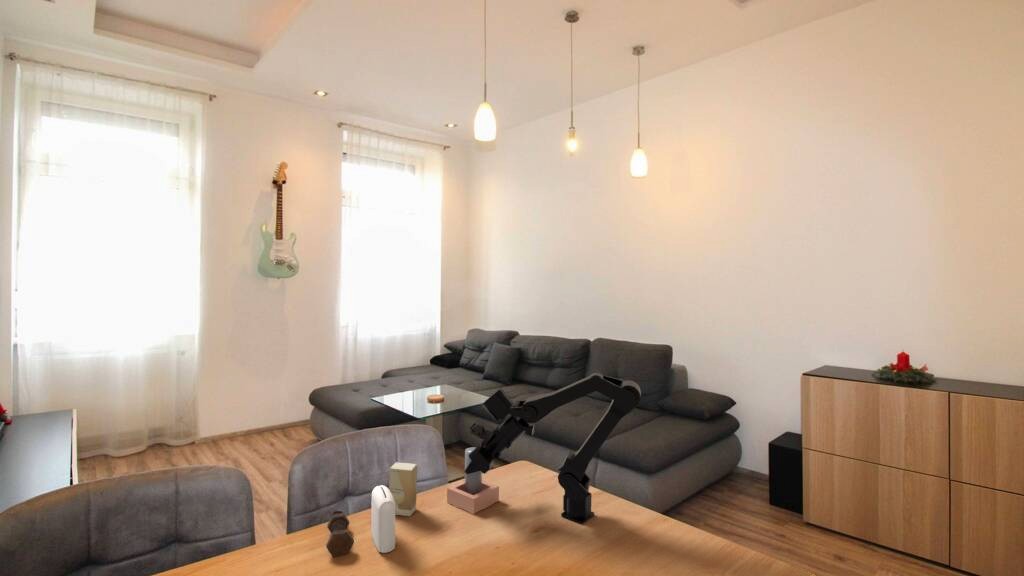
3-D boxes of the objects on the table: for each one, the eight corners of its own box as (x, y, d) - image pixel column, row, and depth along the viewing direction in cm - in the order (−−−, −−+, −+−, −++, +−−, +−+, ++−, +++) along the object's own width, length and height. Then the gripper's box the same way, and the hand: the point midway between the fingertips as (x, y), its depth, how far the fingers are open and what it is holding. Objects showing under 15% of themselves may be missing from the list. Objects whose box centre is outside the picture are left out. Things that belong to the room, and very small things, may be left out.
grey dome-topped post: (484, 495, 133) (484, 451, 133) (468, 498, 131) (468, 454, 130) (477, 488, 137) (477, 446, 137) (462, 491, 135) (462, 448, 135)
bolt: (340, 530, 122) (344, 561, 108) (322, 523, 120) (322, 554, 106) (352, 508, 123) (357, 536, 109) (334, 501, 121) (336, 528, 108)
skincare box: (387, 514, 126) (388, 467, 126) (394, 506, 131) (394, 461, 130) (411, 517, 125) (411, 469, 125) (417, 509, 130) (417, 463, 129)
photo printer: (369, 533, 117) (369, 482, 117) (387, 529, 119) (387, 479, 119) (377, 555, 108) (377, 500, 108) (397, 551, 110) (397, 496, 110)
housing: (498, 500, 135) (498, 486, 135) (473, 514, 127) (473, 499, 127) (472, 490, 141) (472, 476, 141) (447, 502, 133) (447, 488, 133)
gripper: (497, 401, 141) (461, 435, 144) (476, 420, 123) (435, 459, 126) (523, 430, 140) (486, 465, 143) (506, 454, 122) (464, 492, 125)
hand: (468, 469), depth 134 cm, fingers closed on grey dome-topped post, 4 cm apart
